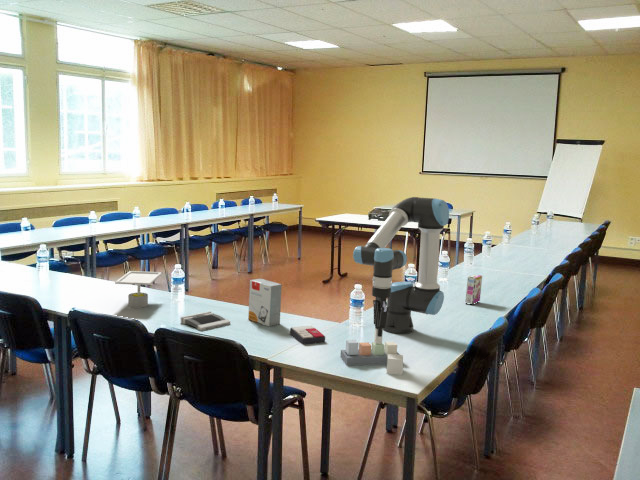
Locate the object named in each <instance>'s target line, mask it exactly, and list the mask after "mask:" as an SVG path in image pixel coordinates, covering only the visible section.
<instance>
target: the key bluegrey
mask: <svg viewBox="0 0 640 480" xmlns="http://www.w3.org/2000/svg"><path fill="white" fill-rule="evenodd" d="M345 350H346V353H347V354H348V355H358V350H359V341H358V340H356V339H346V340H345Z"/></svg>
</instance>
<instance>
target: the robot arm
mask: <svg viewBox="0 0 640 480" xmlns="http://www.w3.org/2000/svg"><path fill="white" fill-rule="evenodd" d="M449 220H450V208H449V206H448V204H447V202H446V201H445V200H444V199H439V198H432V197H419V196H412V197H408V198H405V199H403V200H402V201H400V202H398V203H396V205H394V206H393V207H392V209H391V210H390V211H389V213H388V216H387V218H386V219H385V220H384V221H383V223H382V224H381V225H380V226H379V227H378V229H377V230H376V231H375V232H374V233H373V235H372V236H371V237H370V238H369V240H368V241H367V242H366V243H365V244H364V245H357V246H356V247H355V248H354V250H353V254H352V258H353V261H354V263H356V264H361V265H366V266H371V267H373V273H372V274H373V275H372V278H371V281H372V289H371V296H373V297H375V299H372V304H373V325H374V327H375V329H374V330H375V331H374V343H375V344H382V343H383V335H384V334H383V331H384V332H388V333H392V334H399V335H401V334H403V335H405V334H410V333H412V332H414V323H413V318H412V314H411V313H412V312H414V313H415V312H416V313H419V314H423V315H424V314H425V315H429V316H435V315H438V313H439V312H440V311H441V309H442V307H443V304H444V299H445V294H444V293H445V292H443V291H442V290H441V286H440V284H439V283H438V270H439V256H440V255H439V254H440V252H439V251H440V237H441V236H440V235H441V232H442V231H443V230H444V227H445V226H446V225H448V224H449ZM408 223H417V228H418V230H420V241H419V242H420V244H419V246H420V247H419V263H418V264H419V265H418V278H417V279H418V281H417V282H416V283H415V284H414V283H413V281H395V282H393V271H394V270H398V269H399V270H400V269H401V268H403V267H404V266H405V265H406V264H407V262H408V256H407V254H406V253H405V252H404V251H403V250H400V249H394V250H393V249H392V248H389V247H387V246H388V245H389V244H390V242H391V241H392V240H393V239H394V237H395V236H396V235H397V233H398V232H399V231H400V229H401V228H402V227H405V226H406V225H407V224H408Z"/></svg>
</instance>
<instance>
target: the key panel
mask: <svg viewBox="0 0 640 480" xmlns="http://www.w3.org/2000/svg"><path fill="white" fill-rule="evenodd" d="M371 351H372V348H371ZM397 354H398V355H401V354H400V353H399V351H397ZM340 358H341V360H342V361H343V363H344V364H345V365H346V366H368V365H369V366H370V365H372V366H375V365H377V366H378V365H387V359H388V355H387V354H386V353H385V352H384V355H373V354H372V352H371V355H360V354H359V349H358V355H348V354H347V353H346V349H340Z"/></svg>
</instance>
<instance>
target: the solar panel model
mask: <svg viewBox="0 0 640 480" xmlns="http://www.w3.org/2000/svg"><path fill="white" fill-rule="evenodd" d="M162 274H163V273H162V272H159V271H138V270H137V271H135V270H129V271H128V272H126V273H125V274H124V275H122V276H121V277H120V278H118V279H117V280H115V281H114V284H115V285H137V292H131V293H129V294H128V295H127V296H128V307H129V308H134V309H135V308H136V309H138V308H139V309H140V308H146V307H147V306H148V305H149V304H148V303H149V294H148V293H146V292H141V286H150V285H152V284H153V283H154V282H155V281H156V280H157V279H158V278H159V277H160V276H161V275H162Z"/></svg>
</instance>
